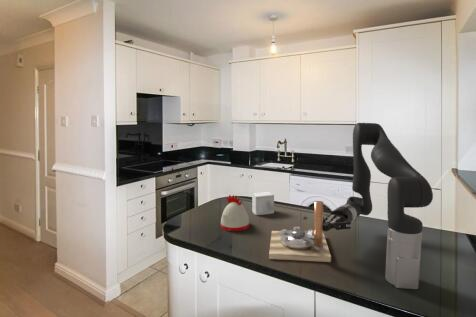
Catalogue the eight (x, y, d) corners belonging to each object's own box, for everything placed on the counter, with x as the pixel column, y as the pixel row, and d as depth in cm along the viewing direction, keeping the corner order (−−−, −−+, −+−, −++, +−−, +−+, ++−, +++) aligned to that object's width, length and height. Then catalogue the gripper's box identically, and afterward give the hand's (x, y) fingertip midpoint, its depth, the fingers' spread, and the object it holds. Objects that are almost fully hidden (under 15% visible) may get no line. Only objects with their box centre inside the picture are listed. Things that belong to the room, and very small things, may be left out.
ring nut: (273, 238, 123) (273, 192, 121) (302, 232, 129) (302, 188, 126) (304, 260, 105) (304, 206, 102) (336, 251, 111) (337, 200, 108)
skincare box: (256, 215, 159) (255, 196, 157) (252, 212, 165) (251, 193, 163) (274, 213, 162) (274, 194, 160) (269, 209, 168) (269, 191, 166)
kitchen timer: (230, 219, 155) (229, 190, 153) (254, 223, 148) (254, 193, 146) (215, 228, 143) (214, 197, 141) (240, 233, 136) (239, 201, 134)
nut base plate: (330, 262, 108) (331, 256, 108) (269, 258, 111) (269, 253, 111) (323, 237, 129) (323, 232, 129) (271, 235, 133) (271, 230, 133)
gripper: (328, 203, 124) (307, 214, 111) (361, 209, 115) (342, 222, 103) (327, 221, 125) (307, 234, 112) (360, 228, 117) (341, 243, 104)
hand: (324, 228), depth 108 cm, fingers closed
